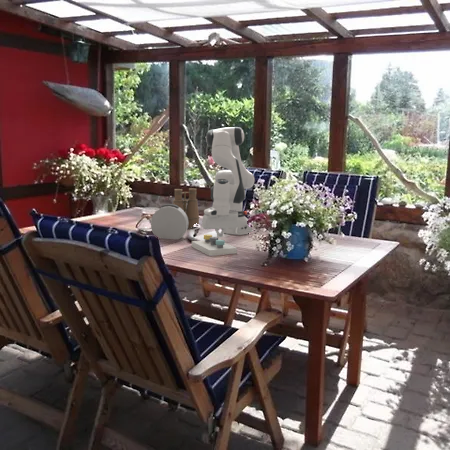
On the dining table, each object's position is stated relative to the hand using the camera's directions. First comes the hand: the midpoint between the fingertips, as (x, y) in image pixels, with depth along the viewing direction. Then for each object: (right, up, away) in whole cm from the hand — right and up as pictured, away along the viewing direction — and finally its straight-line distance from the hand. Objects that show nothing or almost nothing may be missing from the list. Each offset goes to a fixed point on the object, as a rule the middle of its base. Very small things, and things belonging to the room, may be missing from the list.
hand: (219, 236), depth 278 cm
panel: (-3, -7, +8) cm, 11 cm away
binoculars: (-23, +4, +65) cm, 70 cm away
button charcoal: (-3, -6, +7) cm, 10 cm away
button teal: (0, -7, +1) cm, 7 cm away
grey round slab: (-30, -1, +35) cm, 46 cm away
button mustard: (-7, -4, +13) cm, 16 cm away
